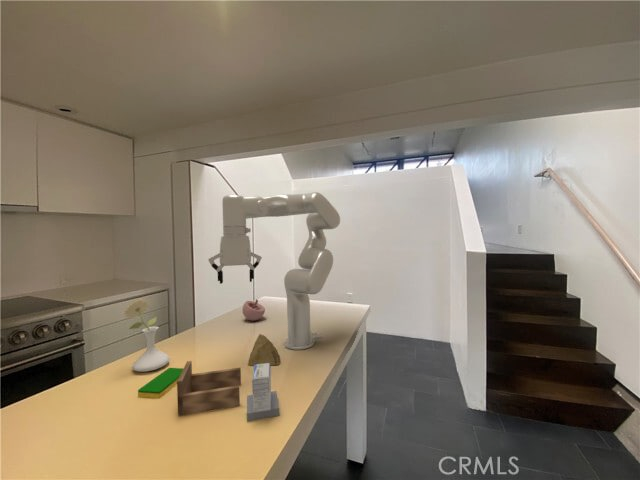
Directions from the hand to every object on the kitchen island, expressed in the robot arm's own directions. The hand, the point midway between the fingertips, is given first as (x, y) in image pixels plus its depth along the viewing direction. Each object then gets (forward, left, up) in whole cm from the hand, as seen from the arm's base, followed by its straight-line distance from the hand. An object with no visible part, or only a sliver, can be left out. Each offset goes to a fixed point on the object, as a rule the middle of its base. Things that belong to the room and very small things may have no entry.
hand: (236, 282), depth 94 cm
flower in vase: (+31, -11, -31) cm, 45 cm away
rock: (-9, -2, -31) cm, 32 cm away
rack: (+7, +15, -30) cm, 34 cm away
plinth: (-7, +24, -30) cm, 39 cm away
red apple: (-6, -56, -31) cm, 64 cm away
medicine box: (-7, +25, -28) cm, 38 cm away
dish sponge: (+22, +3, -31) cm, 38 cm away
